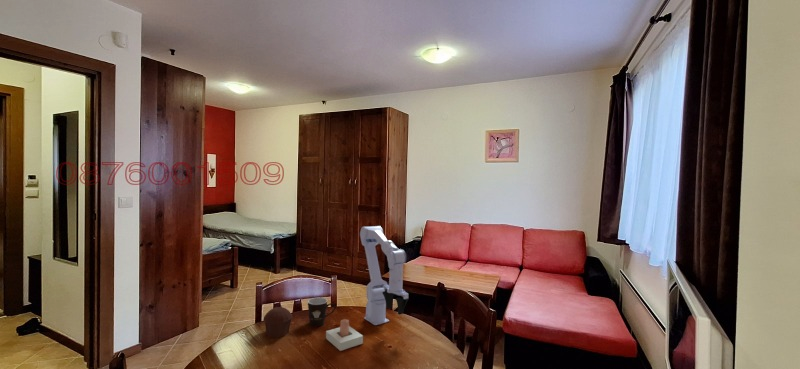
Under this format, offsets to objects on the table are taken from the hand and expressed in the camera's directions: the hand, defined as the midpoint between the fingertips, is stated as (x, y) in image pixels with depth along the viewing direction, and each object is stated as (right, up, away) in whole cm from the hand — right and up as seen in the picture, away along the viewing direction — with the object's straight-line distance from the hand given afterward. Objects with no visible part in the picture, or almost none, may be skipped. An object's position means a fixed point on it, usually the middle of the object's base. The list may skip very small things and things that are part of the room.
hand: (394, 310), depth 138 cm
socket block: (-20, -9, -7) cm, 23 cm away
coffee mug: (-34, -9, +8) cm, 36 cm away
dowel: (-20, -9, -7) cm, 23 cm away
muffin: (-49, -9, -2) cm, 50 cm away
